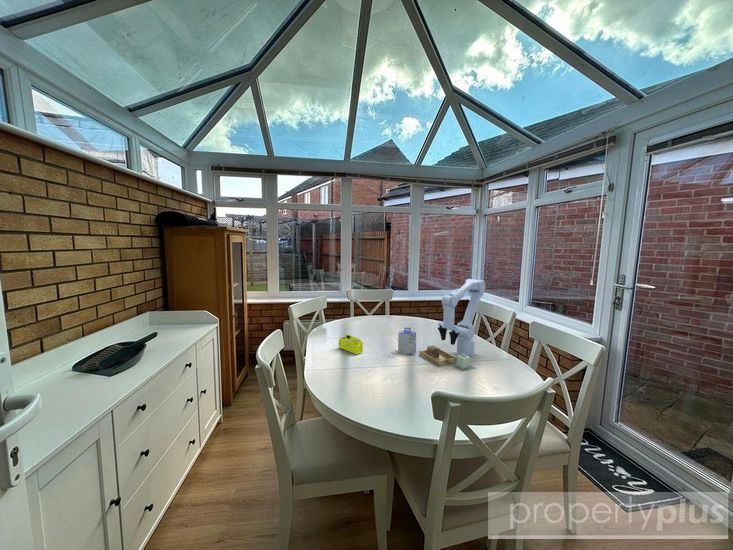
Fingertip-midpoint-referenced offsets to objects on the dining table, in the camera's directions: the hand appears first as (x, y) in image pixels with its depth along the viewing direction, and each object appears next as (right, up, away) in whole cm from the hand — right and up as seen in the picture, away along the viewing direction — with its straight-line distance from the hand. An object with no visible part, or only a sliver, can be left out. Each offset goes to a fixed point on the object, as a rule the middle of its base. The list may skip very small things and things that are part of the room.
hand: (448, 342), depth 162 cm
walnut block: (-7, -9, +5) cm, 12 cm away
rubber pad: (+6, -11, -8) cm, 15 cm away
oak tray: (-5, -10, +1) cm, 11 cm away
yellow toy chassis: (-54, -9, +15) cm, 56 cm away
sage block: (+5, -11, -9) cm, 15 cm away
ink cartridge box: (-21, -9, +12) cm, 25 cm away
